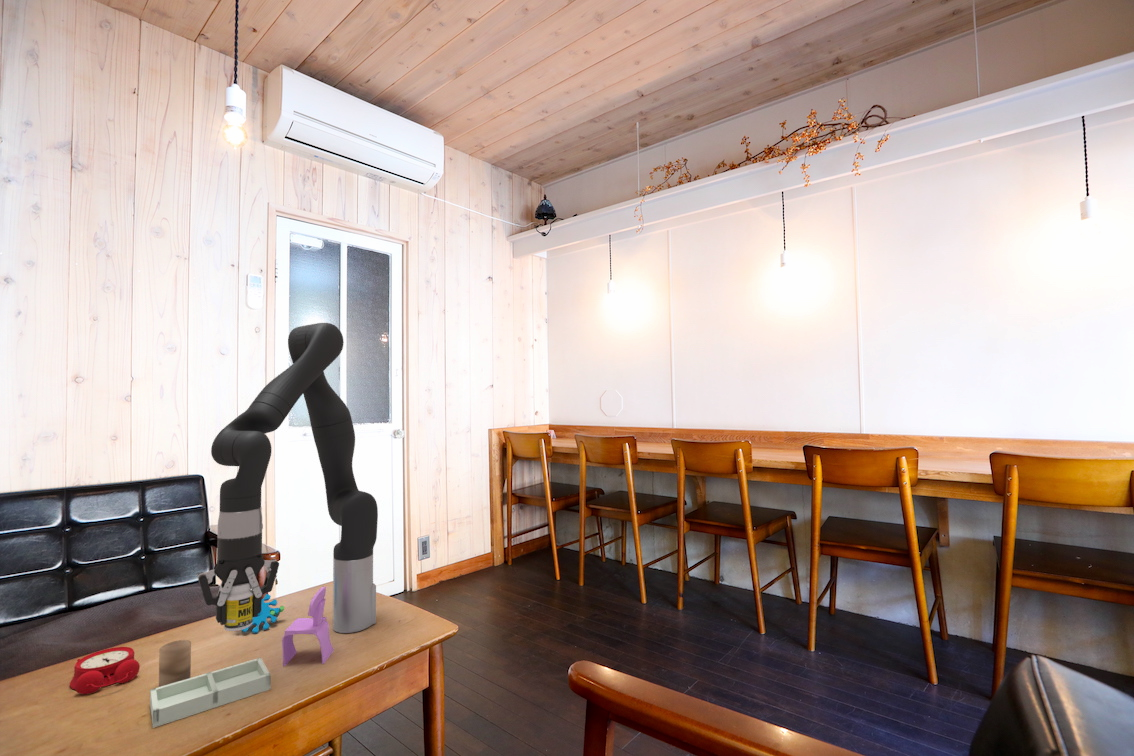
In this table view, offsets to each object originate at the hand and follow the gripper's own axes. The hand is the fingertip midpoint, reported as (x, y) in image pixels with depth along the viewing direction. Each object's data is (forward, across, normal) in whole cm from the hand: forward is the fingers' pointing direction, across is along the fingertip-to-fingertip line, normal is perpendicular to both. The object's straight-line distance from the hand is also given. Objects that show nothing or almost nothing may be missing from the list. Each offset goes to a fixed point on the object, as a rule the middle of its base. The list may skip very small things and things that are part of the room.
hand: (238, 619), depth 103 cm
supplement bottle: (+2, 0, 0) cm, 2 cm away
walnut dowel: (+13, +9, -9) cm, 18 cm away
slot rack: (+13, +4, 0) cm, 14 cm away
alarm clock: (+14, +20, -22) cm, 32 cm away
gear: (+14, -9, -29) cm, 33 cm away
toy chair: (+14, -14, -4) cm, 20 cm away
